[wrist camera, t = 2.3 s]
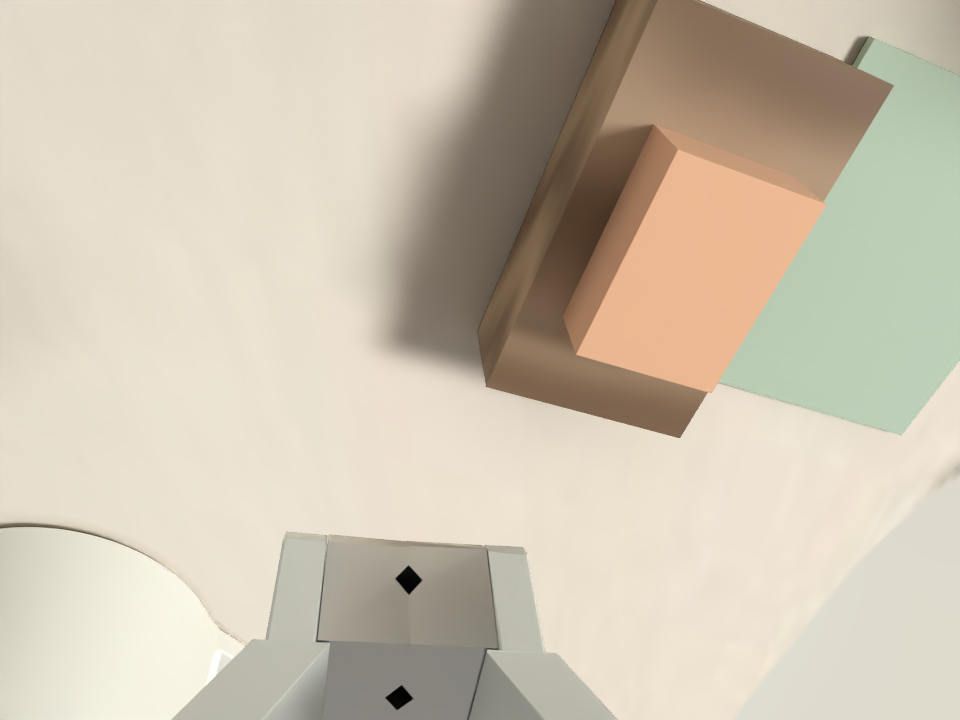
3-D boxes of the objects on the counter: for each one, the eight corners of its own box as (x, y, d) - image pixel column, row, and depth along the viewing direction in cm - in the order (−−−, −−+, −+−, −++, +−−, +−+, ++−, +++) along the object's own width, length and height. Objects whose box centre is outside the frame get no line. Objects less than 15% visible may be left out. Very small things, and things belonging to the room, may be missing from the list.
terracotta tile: (688, 354, 29) (711, 393, 27) (562, 316, 28) (576, 354, 26) (791, 175, 26) (826, 204, 24) (654, 124, 25) (678, 149, 22)
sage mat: (897, 430, 37) (901, 435, 37) (678, 366, 34) (681, 371, 34) (1116, 144, 31) (1124, 147, 30) (868, 36, 28) (874, 38, 27)
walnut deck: (652, 381, 35) (679, 438, 31) (477, 331, 33) (486, 386, 29) (834, 57, 28) (894, 85, 25) (629, -30, 26) (663, -13, 23)
